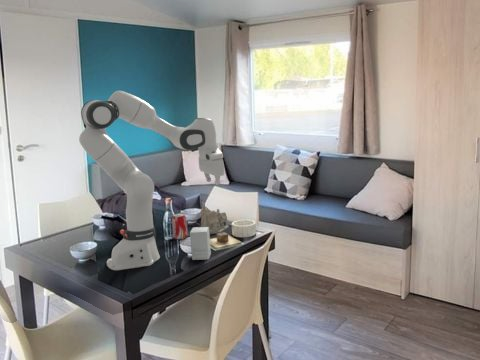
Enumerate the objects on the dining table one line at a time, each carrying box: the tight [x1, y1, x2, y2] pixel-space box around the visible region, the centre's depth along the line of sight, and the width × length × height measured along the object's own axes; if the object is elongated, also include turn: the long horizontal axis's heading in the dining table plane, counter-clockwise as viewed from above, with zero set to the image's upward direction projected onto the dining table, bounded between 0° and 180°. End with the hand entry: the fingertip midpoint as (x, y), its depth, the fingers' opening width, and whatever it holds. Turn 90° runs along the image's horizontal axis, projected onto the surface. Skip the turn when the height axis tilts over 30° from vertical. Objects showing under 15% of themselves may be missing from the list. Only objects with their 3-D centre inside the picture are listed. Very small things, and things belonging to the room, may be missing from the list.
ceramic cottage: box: [199, 201, 229, 235], centre depth 242 cm, size 16×16×15 cm
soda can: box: [171, 212, 188, 240], centre depth 230 cm, size 7×7×12 cm
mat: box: [210, 242, 245, 251], centre depth 220 cm, size 15×15×1 cm
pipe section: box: [231, 219, 257, 238], centre depth 231 cm, size 12×12×6 cm
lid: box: [210, 231, 243, 250], centre depth 220 cm, size 13×13×4 cm
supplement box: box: [189, 226, 212, 261], centre depth 202 cm, size 7×7×13 cm
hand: (213, 183), depth 214 cm, fingers open, 8 cm apart
